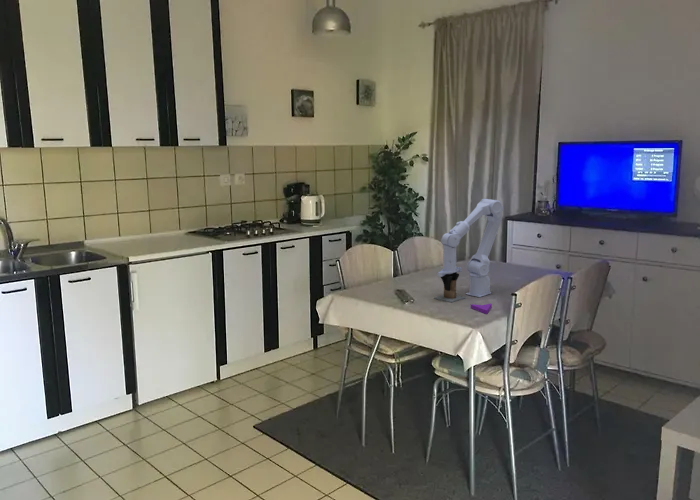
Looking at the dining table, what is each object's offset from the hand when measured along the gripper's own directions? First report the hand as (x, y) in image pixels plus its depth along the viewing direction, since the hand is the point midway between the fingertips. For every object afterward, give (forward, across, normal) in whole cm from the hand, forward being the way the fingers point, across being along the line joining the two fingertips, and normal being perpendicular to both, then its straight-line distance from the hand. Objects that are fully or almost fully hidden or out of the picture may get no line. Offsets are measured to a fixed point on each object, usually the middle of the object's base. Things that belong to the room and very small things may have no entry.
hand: (449, 289), depth 263 cm
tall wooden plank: (+3, 0, 0) cm, 4 cm away
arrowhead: (+3, +2, +19) cm, 19 cm away
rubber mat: (+4, 0, 0) cm, 4 cm away
